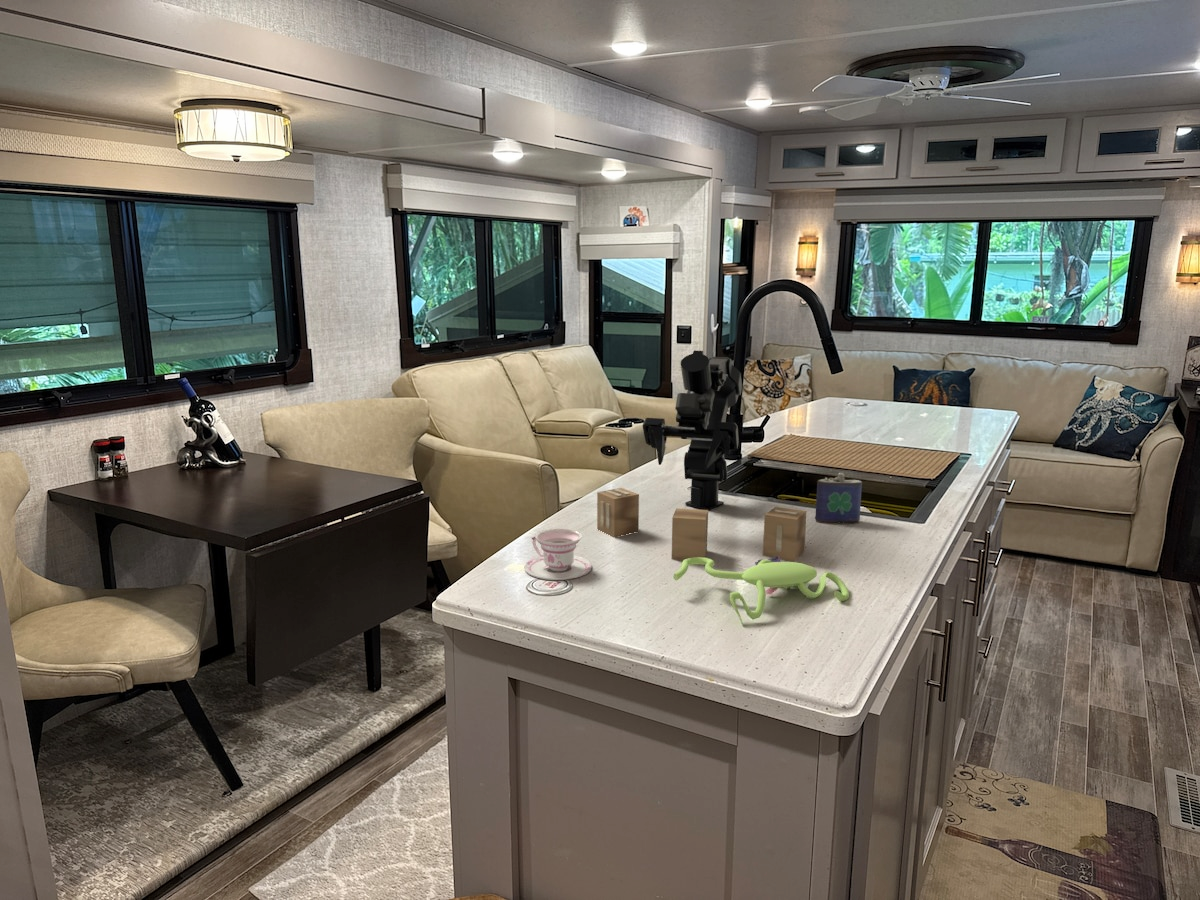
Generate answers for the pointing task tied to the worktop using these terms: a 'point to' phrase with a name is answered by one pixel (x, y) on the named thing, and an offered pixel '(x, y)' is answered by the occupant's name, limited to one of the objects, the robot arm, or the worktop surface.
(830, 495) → the flask
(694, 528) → the plain block
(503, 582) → the worktop surface
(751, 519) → the worktop surface
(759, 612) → the figurine
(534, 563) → the teacup
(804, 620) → the worktop surface
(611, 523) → the striped block
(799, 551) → the striped block
